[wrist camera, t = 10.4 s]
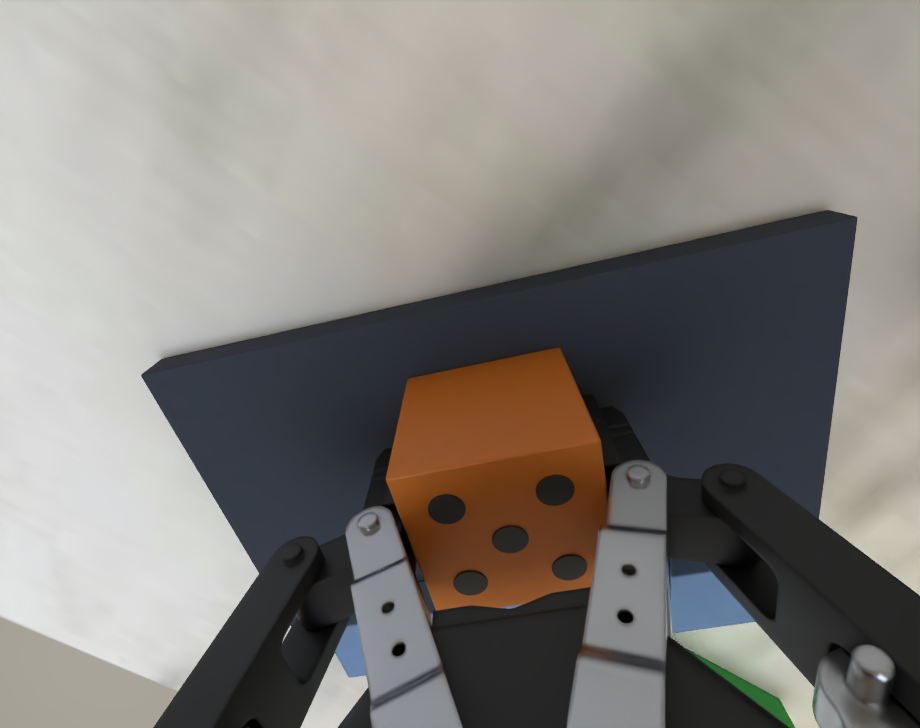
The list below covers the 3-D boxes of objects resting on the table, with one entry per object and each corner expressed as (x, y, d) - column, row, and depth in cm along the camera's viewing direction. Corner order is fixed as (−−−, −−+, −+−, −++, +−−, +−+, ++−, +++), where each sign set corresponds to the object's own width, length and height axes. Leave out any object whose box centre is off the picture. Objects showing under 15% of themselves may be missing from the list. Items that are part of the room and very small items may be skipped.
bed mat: (160, 358, 17) (106, 400, 14) (829, 209, 14) (907, 227, 12) (315, 631, 23) (297, 692, 21) (793, 560, 21) (838, 619, 18)
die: (406, 377, 16) (383, 480, 11) (560, 345, 15) (602, 440, 10) (444, 493, 18) (437, 620, 13) (579, 470, 17) (621, 592, 13)
